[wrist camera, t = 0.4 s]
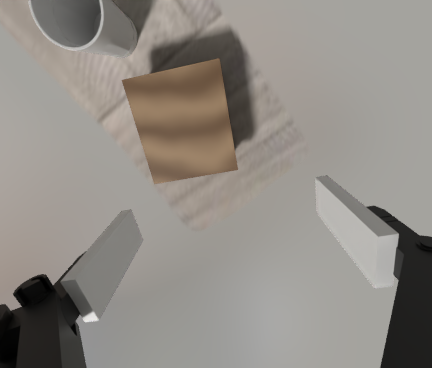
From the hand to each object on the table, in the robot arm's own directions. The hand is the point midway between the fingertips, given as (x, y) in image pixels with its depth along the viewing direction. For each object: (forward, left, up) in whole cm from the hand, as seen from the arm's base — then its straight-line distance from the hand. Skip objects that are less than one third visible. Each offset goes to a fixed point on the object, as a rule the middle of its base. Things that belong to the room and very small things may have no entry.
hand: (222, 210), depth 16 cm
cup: (-19, -13, -26) cm, 35 cm away
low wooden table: (-4, -5, -26) cm, 27 cm away
